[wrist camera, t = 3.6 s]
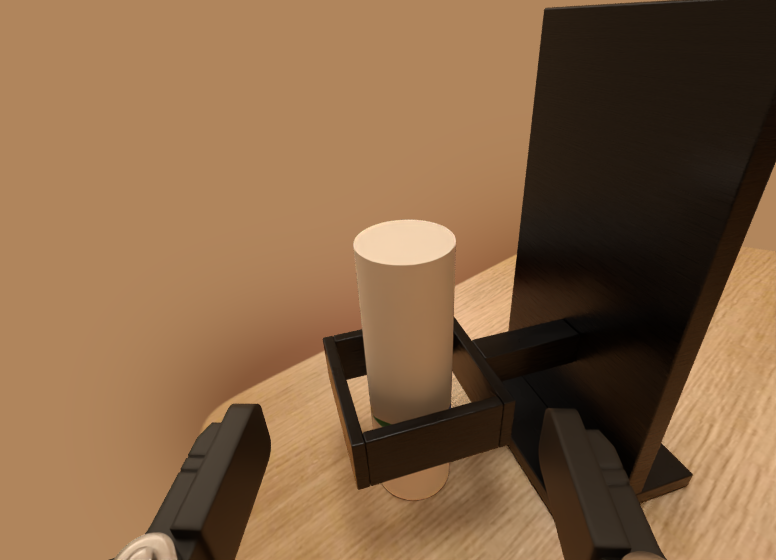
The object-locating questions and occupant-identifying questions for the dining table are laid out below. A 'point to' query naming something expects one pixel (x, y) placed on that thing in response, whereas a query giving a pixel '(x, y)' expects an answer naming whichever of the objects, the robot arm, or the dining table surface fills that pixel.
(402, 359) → the tube
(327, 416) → the dining table surface
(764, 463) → the dining table surface
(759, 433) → the dining table surface
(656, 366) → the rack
